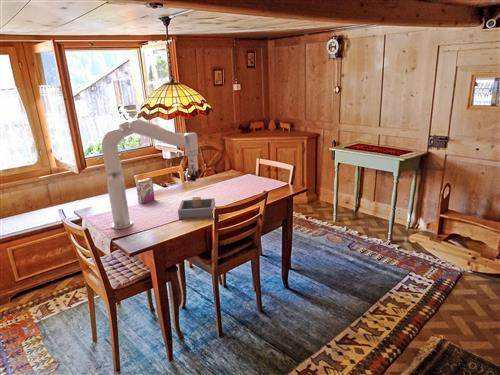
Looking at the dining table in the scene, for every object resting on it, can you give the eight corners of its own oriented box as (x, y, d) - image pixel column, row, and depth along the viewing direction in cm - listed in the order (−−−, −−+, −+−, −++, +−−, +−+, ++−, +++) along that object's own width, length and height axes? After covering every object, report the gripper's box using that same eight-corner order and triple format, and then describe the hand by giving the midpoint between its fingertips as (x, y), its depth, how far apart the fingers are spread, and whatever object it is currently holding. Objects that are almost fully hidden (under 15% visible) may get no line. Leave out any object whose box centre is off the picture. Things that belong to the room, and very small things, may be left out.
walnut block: (201, 212, 234) (199, 199, 231) (193, 212, 234) (192, 199, 231) (201, 209, 239) (200, 196, 236) (194, 210, 239) (192, 197, 236)
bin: (213, 217, 228) (213, 208, 226) (178, 219, 227) (177, 210, 225) (215, 206, 247) (214, 198, 245) (182, 208, 246) (182, 200, 244)
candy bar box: (142, 204, 259) (139, 182, 255) (138, 202, 262) (135, 181, 258) (155, 199, 267) (152, 178, 263) (151, 198, 271) (148, 177, 266)
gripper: (196, 155, 217) (198, 182, 222) (199, 149, 234) (201, 175, 238) (184, 155, 217) (186, 183, 222) (187, 150, 233) (189, 176, 238)
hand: (194, 179), depth 230 cm, fingers open, 9 cm apart
